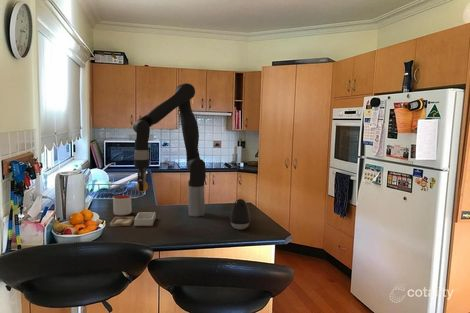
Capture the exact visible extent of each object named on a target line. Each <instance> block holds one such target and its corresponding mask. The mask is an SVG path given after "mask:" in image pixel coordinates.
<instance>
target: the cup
mask: <svg viewBox="0 0 470 313" xmlns="http://www.w3.org/2000/svg"><path fill="white" fill-rule="evenodd" d="M112 202H113V203H112V205H113V207H112V208H113V210H112V211H113V215H115V216H119V217H123V216H128V215H130V214H131V213H132V211H133V210H132V195H127V194H123V195H122V194H121V195H115V196H113V198H112Z"/></svg>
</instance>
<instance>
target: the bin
mask: <svg viewBox="0 0 470 313" xmlns="http://www.w3.org/2000/svg"><path fill="white" fill-rule="evenodd" d="M155 220H156V211H150V212H149V211H148V212H147V211H146V212H138V213H137V214H136V216H134V220H133V226H134V227H152V226H153V225H154V223H155ZM153 227H154V226H153Z"/></svg>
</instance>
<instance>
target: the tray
mask: <svg viewBox="0 0 470 313" xmlns="http://www.w3.org/2000/svg"><path fill="white" fill-rule="evenodd" d="M134 219H135V216H115V217H114V218H112V220H111V221H110V222H109V227H130V226H131V224H132V223H133V222H134Z"/></svg>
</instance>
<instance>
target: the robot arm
mask: <svg viewBox="0 0 470 313" xmlns="http://www.w3.org/2000/svg"><path fill="white" fill-rule="evenodd" d="M195 95H196V89H195V87H194V85H192V84H191V83H187V82H185V83H181V84H179V85H177V86H176V88H175V92H174V94H173V95H172V96H171V97H169V98H167V99H166V100H164V101H162V102H161V103H160V104H159V105H156V106H155V107H154V108H152V110H150V111H149V112H148V113H147V114H145V115H143V116H142V117H140V118H138V120H135V122H134V123H133V125H132V129H133V131H134V132H135V133H136V139H135V140H134V155H133V156H134V159H133V160H134V163H133V164H134V165H133V166H134V168H135V169H138V170H137V183H138V184H139V191H138V192H140V191H143V190H144V188H143V184H144V181H145V182H147V181H146V180H147V169H148V168H149V167H150V150H149V138H150V132H151V127H153V126H154V125H157V124H158V123H159V122H161V121H162V120H163V119H164V118H166V117H167V116H168V115H169V114H170V113H171V112H173V111H174V110H175V109H176V108H178V111H179V112H178V113H179V120H180V124H181V125H180V126H181V132H182V133H181V134H182V137H183V142H184V147H185V153H186V168H187V170H188V172H189V180H188V182H187V184H188V186H187V187H188V188H187V189H188V192H187V193H188V194H187V195H188V196H187V197H188V199H187V200H188V201H187V202H188V206H187V207H188V216H189V217H202V216H203V217H204V216H205V213H206V212H205V208H206V207H205V204H206V203H205V200H206V199H205V182H206V175H207V174H206V172H207V170H206V169H207V168H206V162H205V161H204V160H203V159H202V158H201V157H200V153H199V152H200V151H199V140H200V133H199V126H198V122H197V119H196V116H195V114H194V113H193V110H192V106H191V105H192V104H191V100H192V99H193V98H194V97H195Z"/></svg>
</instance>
